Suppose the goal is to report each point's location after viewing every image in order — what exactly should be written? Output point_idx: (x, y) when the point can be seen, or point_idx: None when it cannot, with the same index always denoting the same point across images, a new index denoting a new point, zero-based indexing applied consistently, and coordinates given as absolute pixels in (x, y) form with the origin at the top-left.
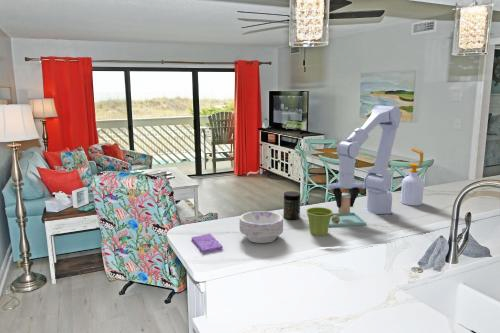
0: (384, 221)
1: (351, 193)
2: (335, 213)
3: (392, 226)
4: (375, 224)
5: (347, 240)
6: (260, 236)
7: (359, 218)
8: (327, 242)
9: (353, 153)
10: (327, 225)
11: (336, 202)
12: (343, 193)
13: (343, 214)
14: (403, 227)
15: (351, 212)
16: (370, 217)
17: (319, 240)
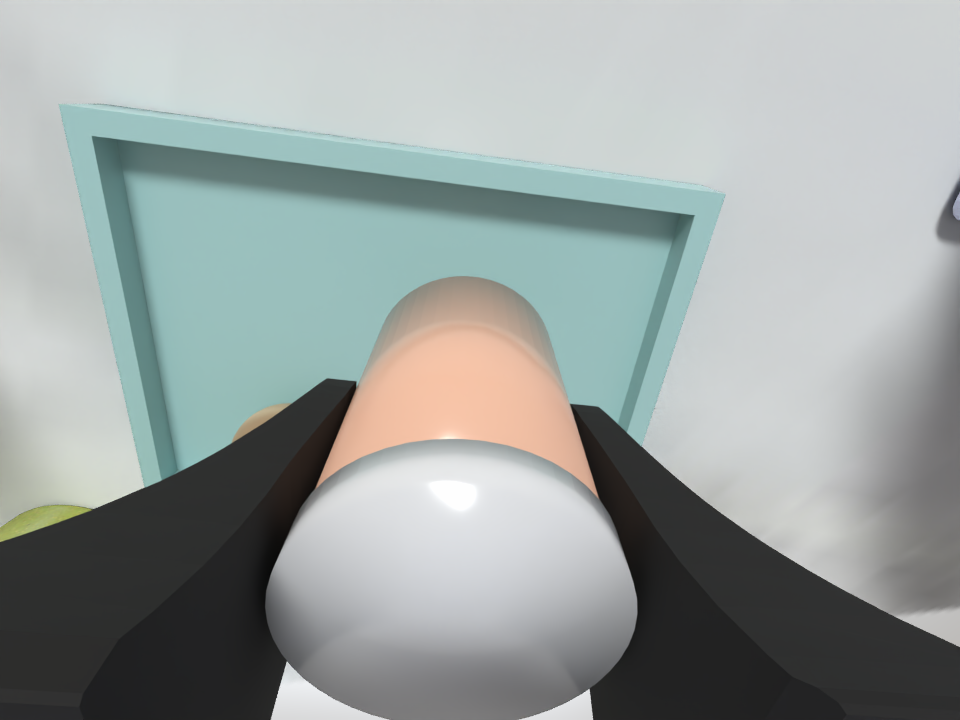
0: (876, 448)
1: (638, 706)
2: (400, 175)
3: (824, 558)
4: (720, 492)
5: (298, 675)
6: None
7: (629, 416)
8: None
9: None
10: None
11: (289, 408)
12: (464, 531)
13: (533, 190)
14: (887, 590)
15: (673, 198)
16: (850, 305)
17: None
